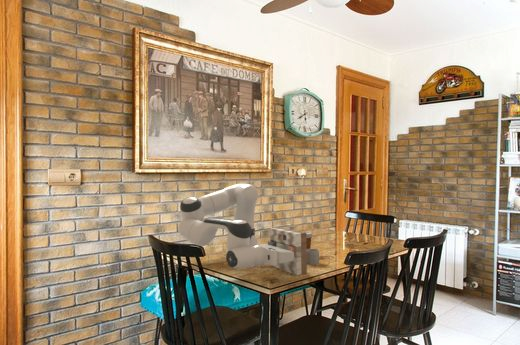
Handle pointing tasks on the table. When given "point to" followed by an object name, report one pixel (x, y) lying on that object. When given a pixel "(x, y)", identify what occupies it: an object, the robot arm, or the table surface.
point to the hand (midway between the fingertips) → (290, 251)
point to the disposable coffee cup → (308, 239)
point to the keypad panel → (300, 243)
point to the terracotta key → (292, 248)
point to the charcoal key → (272, 243)
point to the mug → (312, 256)
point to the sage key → (280, 245)
